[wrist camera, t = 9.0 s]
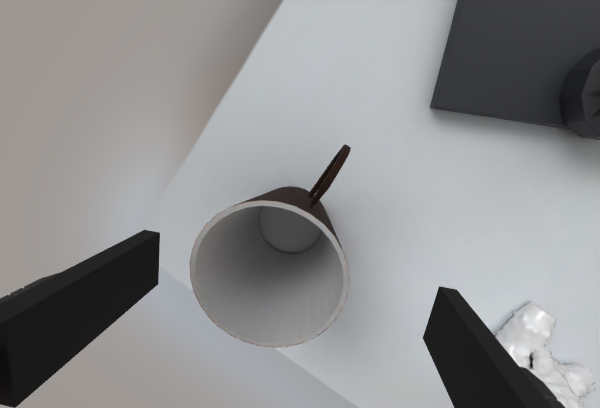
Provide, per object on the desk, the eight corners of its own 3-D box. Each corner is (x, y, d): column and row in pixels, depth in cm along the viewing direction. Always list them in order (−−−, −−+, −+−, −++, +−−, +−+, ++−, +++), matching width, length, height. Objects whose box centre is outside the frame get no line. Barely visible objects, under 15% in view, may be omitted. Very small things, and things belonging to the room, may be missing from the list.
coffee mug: (277, 283, 26) (248, 369, 17) (223, 206, 25) (158, 252, 15) (390, 221, 24) (433, 280, 14) (337, 132, 23) (344, 132, 13)
